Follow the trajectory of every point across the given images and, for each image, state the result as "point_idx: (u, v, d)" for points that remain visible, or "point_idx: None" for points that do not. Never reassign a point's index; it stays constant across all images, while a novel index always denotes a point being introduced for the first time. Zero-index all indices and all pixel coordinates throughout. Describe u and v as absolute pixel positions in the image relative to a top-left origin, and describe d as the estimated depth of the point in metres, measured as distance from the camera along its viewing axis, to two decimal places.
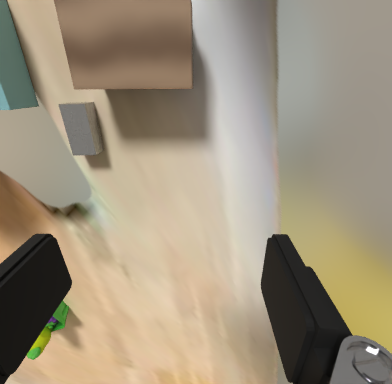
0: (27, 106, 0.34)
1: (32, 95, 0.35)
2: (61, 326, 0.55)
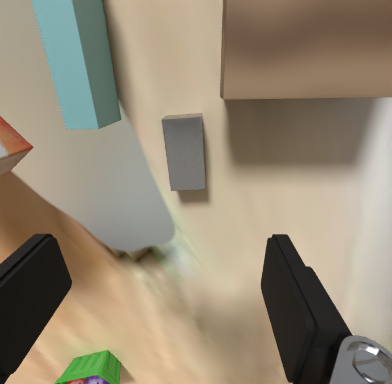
0: (112, 121, 0.23)
1: (116, 104, 0.24)
2: None
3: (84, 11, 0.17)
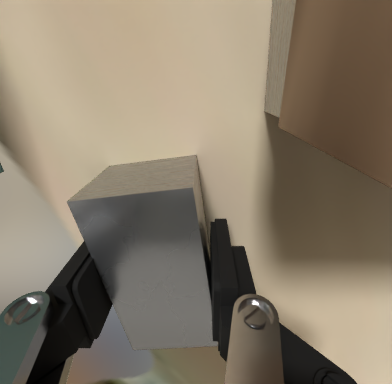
0: None
1: None
2: None
3: None
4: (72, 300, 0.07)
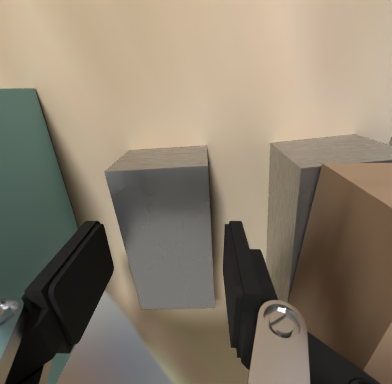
0: None
1: None
2: None
3: (3, 234, 0.08)
4: (48, 305, 0.07)
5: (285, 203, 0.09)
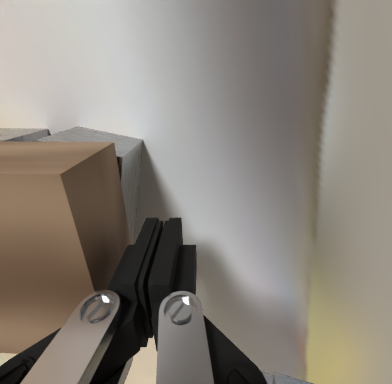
0: None
1: None
2: None
3: None
4: (137, 299, 0.07)
5: None
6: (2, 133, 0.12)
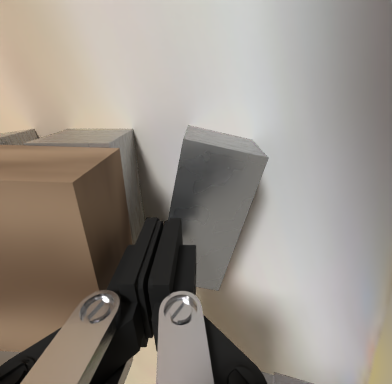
0: None
1: None
2: None
3: None
4: (137, 299, 0.07)
5: None
6: (98, 133, 0.12)
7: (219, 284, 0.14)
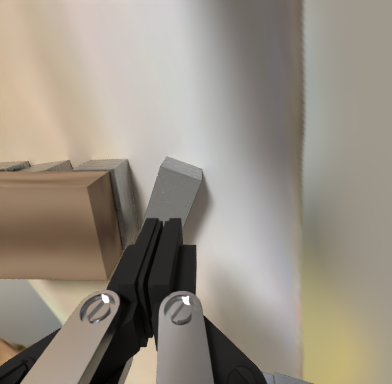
0: None
1: None
2: None
3: None
4: (136, 299, 0.07)
5: None
6: (108, 162, 0.22)
7: None
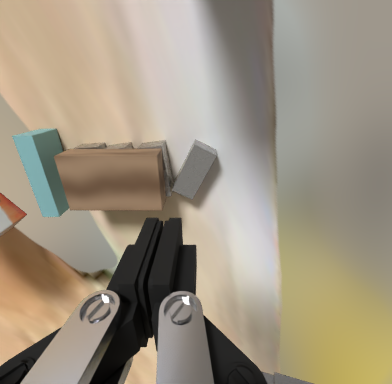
0: None
1: None
2: None
3: (50, 165, 0.36)
4: (137, 299, 0.07)
5: None
6: (154, 143, 0.37)
7: (193, 197, 0.38)
